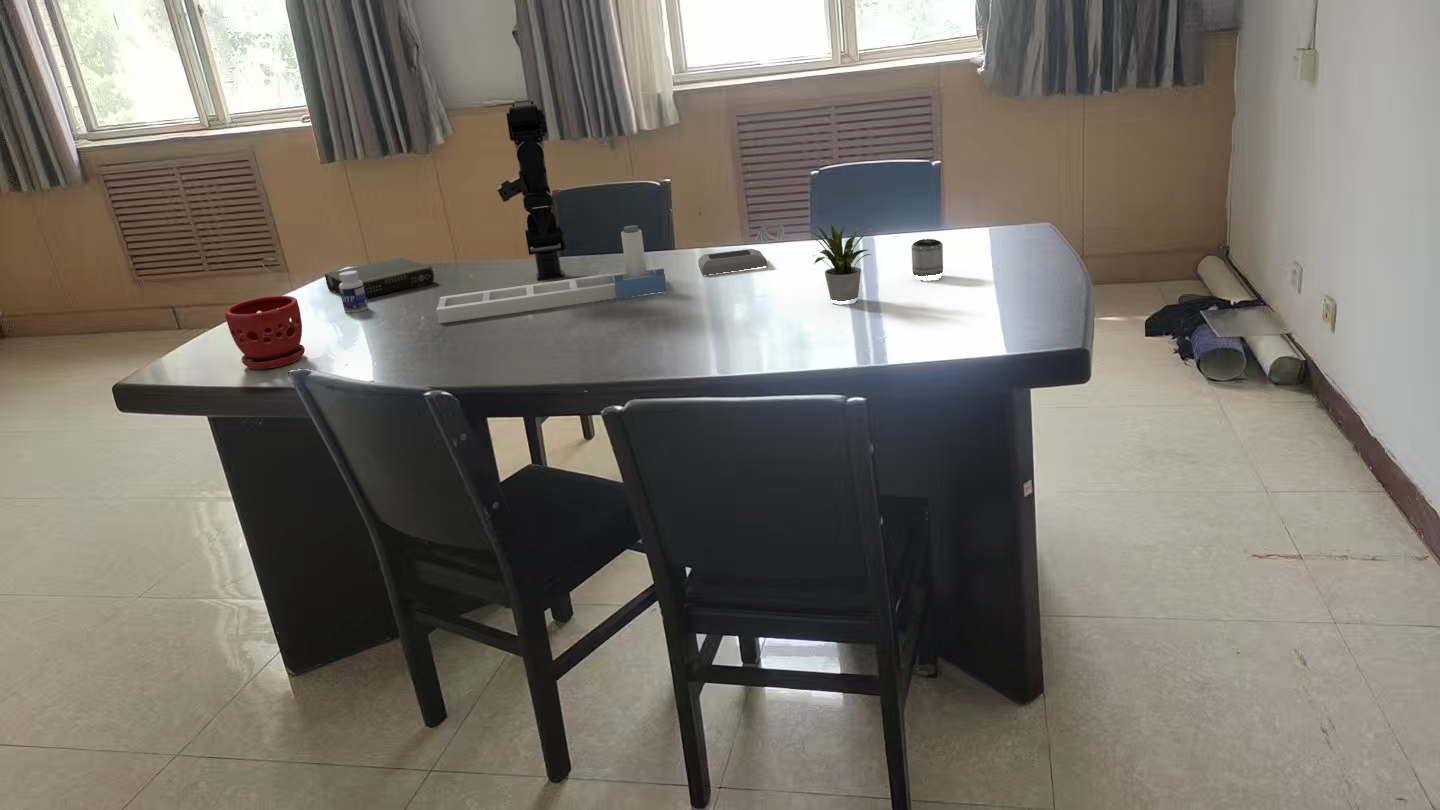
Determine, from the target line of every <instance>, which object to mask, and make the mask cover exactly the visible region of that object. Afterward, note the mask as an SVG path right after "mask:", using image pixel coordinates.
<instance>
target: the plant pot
mask: <svg viewBox="0 0 1440 810" xmlns="http://www.w3.org/2000/svg"><path fill="white" fill-rule="evenodd" d="M224 315H225V319H226V324H227V326H228V329H229V333H230V334H231V337H232V339H233V341H234V343H235V345H236V347H237V348H238V349H239V350H240V352H241V353H242V354H243V355H242V357H241V363H242V364H243V365H244V366H246V367H248V368H250V369H255V370H266V368H270V369H275V368H274V367H276V368H280V367H283V365H284V366H287V364H288V365H291V364H293V363H295V362H297V361H298V360H299V359H301V358H302V356H304V354H305V351H306V349H305V346H304V345H302V344H301V341H302V335H303V322H302V317H301V310H300V306H299V303H298V299H297V298H296V297H293V296H290V295H272V296H271V295H270V296H269V295H267V296H262V297H256V298H251V299H248V300H244V301H241V302H238V303H236V304H232V305H230V306H228V308H226V309H225V311H224ZM290 319H291V320H290ZM292 362H293V363H292ZM279 366H280V367H279Z"/></svg>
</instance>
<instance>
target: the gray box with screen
mask: <svg viewBox="0 0 1440 810" xmlns="http://www.w3.org/2000/svg"><path fill="white" fill-rule="evenodd" d="M697 261H698V268H700V269H699V271H700V274H701V275H702V276H703V275H709V274H716V273H723V272H731V271H739V270H744V269H751V268H757V267H763V266H767V267H768V261H767V259H766V257H765V256H764V254H763V253H762V252H761V251H760V250H757V249H753V248H747V249H739V250H730V251H722V252H714V253H713V252H712V253H707V254H703V255H701V256H700V257H699V258H698V260H697Z"/></svg>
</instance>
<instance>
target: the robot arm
mask: <svg viewBox="0 0 1440 810" xmlns="http://www.w3.org/2000/svg"><path fill="white" fill-rule="evenodd" d="M511 105H512V106H509V107H508V112H506V121H507V126H508V127H507V128H508V134H509V140H510V141H511V142H514V148H515V151H516V158H517V161H518V166H519V170H518V176H517V177H514V178H512V179H510V180H508V179H506V180H505V181H503V182H501V183H500V185H499V186H498V187H496V191H497V193H498V194H499V196H500V197H501V200H502V201H503V203H507V201H510V199H511V198H513V197H515V196H518V195H519V194H522V196H523V197H522V201H523V207H524V210H525V211H526V212H527V213H529V214H527V218H526V226H527V227H526V228H527V229H525V230H524V231H525V232H524V233H525V238H526V244H527V251H528V254H529V256H531V255H534V258H535V264H536V265H535V266H536V270H537V272H536V280H537V281H541V280H548V279H555V278H562V277H564V276H565V275H564V270H563V269H562V267H561V261H560V260H561V259H560V255H559V252H560V251H561V252H562V251H564V250H567V245H566V238H565V232H564V230H563V229H562V227H561V226H560V225H558V224H557V220H556V219H557V218H556V216H555V213H554V212H553V206H554V202H553V197H552V193H551V189H550V186H549V179H548V175H547V174H548V173H547V167H546V160H545V153H544V148H545V144H544V139H545V138H546V133H548V127H547V121H546V115H545V113H544V112H543V110H542V109H541V108H538V105H537V104H536V103H534V101H533V100H530V99H528V100H526V99H525V100H518V101H514V102H512V104H511Z"/></svg>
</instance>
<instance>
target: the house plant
mask: <svg viewBox="0 0 1440 810" xmlns="http://www.w3.org/2000/svg"><path fill="white" fill-rule="evenodd" d="M846 221H847V219H845V221H843V222H844V223H843V224H845V222H846ZM810 226H811V227H815V228H816V229H818V230H819V231H820V234H822V236H823V237H824V238H823V237H821V236H820V235H818V234H816V233H813V232H812V233H811V232H808V234H811V235H815V236H816V237H818V238H819V239H820V240H821V241H823V243H824V244H825V245H826V246H827V248H828V249H826V247H825V246H824V245H823V244H822V243H821V242H820V241H819V240H818V239H816V238H814V237H812V239H814V240H815V241H816V242H818V243H819V244H820V245H821V246H822V247H823V250H821V251H819V252H818V253H819V254H823V256H818V255H815V254H813V256H815V257H817V258H816V259H815V260H814V264H813V265H815V264H816V263H818V262H820V261H823V262H824V263H826V264H827V265H828V266H829V269H828V268H827V269H826V270H825V271H824V276H825V281H826V284H827V289H828V295H829V299H830V300H831V299H832V300H837V301H846V300H851V299H855V298H857V297H858V298H859V291H860V282H861V281H860V280H861V274H862V273H861V272H862V269H861V268H860V267H856V265H857V263H859V261H860V260H861V259H862V258H864V257H866V256H869V255H870V256H873V255H872V254H871V253H866V254H864V255H862V256H861V257H859V259H857V260H856V262H855V264H854V266H852V263H853V262H854V261H855V259H856V258H857V256H858V255H860V254H862V253H864V252H868V251H869V249H860V250H857V251H854V250H855V248H856V247H857V245H858V243H859V242H860V241H861V240H862V239H863V238H864V236H865V235H866V234H867V233H868V232H869V231H871V230H873V229H875V228H876V226H874V227H872V228H869V229H868V230H866V231H865V232H864V233H863V234H862V235H861V236H860V237H859V239H858V240H857V242H856V243H855V244H853V243H854V241H855V238H856V236H857V233H858V228H859V226H857V227H856V228H855V231H854V233H853V234H852V235H851V237H850V238H849V239H848V240H847V241H845V244H844V248H843V232H844V229H845V228H846V227H847V225H844V226H843V227H842V229H841V231H840V232H838V231H837V230H836V229H835V227H834V225H832V223H829V225H828V226H829V227H830V230H831V237H828V236H827V234H826V232H825V231H824V230H823V229H822V228H820V227H819V226H817V225H813V224H812V225H810ZM825 259H828V260H829V261H830V263H831V264H832V266H833V267H832V266H831V265H829V264H828V263H827V262H826V261H825Z"/></svg>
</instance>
